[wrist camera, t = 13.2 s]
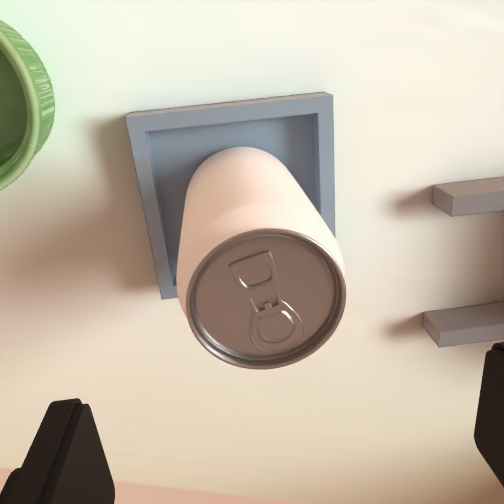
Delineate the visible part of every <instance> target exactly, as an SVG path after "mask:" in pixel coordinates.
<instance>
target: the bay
mask: <svg viewBox="0 0 504 504" xmlns="http://www.w3.org/2000/svg"><path fill="white" fill-rule="evenodd" d="M432 204H434V205H435V206H437V207H438V208H440V209H441V210H443V211H444V212H446V213H447V214H449V215H450V216H451V217H453V216H461V215H469V214H478V213H486V212H494V211H503V210H504V177H496V178H487V179H479V180H470V181H462V182H453V183H445V184H436V185H433V196H432ZM422 327H423V328H424V329H425V330H426V332H427V333H428V334H429V335H430V337H431V338H432V339H433V341H434V342H435V343H436V344H437V346H438V347H447V346H454V345H462V344H469V343H476V342H484V341H491V340H499V339H504V302H497V303H490V304H482V305H474V306H467V307H459V308H452V309H444V310H436V311H429V312H424V313H423V326H422Z"/></svg>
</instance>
